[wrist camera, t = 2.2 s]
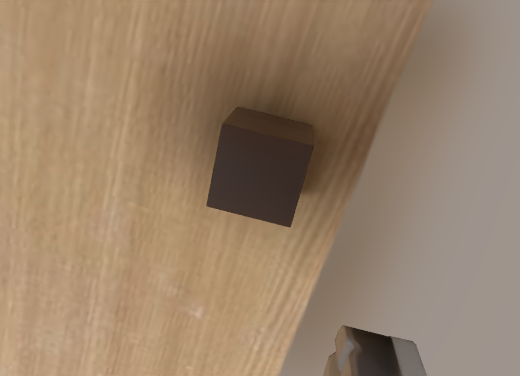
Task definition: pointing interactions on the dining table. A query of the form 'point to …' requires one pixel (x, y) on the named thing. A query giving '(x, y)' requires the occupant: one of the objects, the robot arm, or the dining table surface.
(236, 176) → the block
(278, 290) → the dining table surface
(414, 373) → the robot arm
